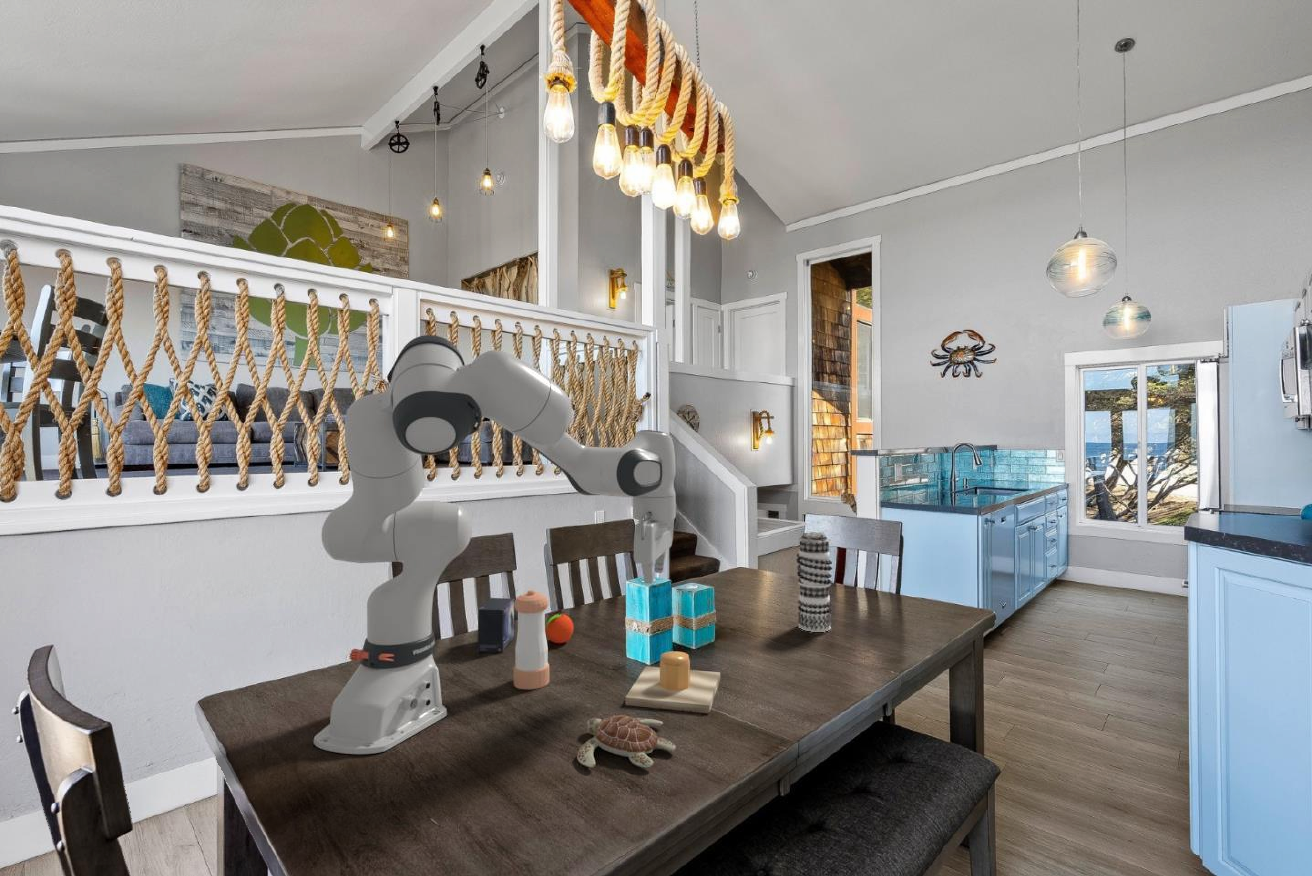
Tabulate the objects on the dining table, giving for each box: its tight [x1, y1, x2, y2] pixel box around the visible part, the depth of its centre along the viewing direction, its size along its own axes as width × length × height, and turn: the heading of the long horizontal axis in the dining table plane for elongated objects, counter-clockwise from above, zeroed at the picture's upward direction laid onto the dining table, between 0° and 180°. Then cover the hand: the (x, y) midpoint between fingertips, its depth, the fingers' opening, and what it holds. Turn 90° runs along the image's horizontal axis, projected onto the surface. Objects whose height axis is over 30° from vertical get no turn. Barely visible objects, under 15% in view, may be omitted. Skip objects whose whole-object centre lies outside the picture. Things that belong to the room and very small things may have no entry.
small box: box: [477, 597, 515, 654], centre depth 149 cm, size 11×6×10 cm, turn 179°
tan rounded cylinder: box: [659, 650, 691, 690], centre depth 122 cm, size 6×6×6 cm
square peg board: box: [624, 665, 721, 714], centre depth 122 cm, size 16×16×6 cm
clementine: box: [545, 613, 575, 644], centre depth 151 cm, size 8×7×7 cm
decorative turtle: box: [576, 714, 676, 768], centre depth 100 cm, size 18×17×5 cm
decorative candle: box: [795, 531, 833, 633], centre depth 162 cm, size 9×9×25 cm
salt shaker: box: [513, 589, 550, 690], centre depth 127 cm, size 7×7×19 cm
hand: (654, 577), depth 125 cm, fingers open, 8 cm apart
